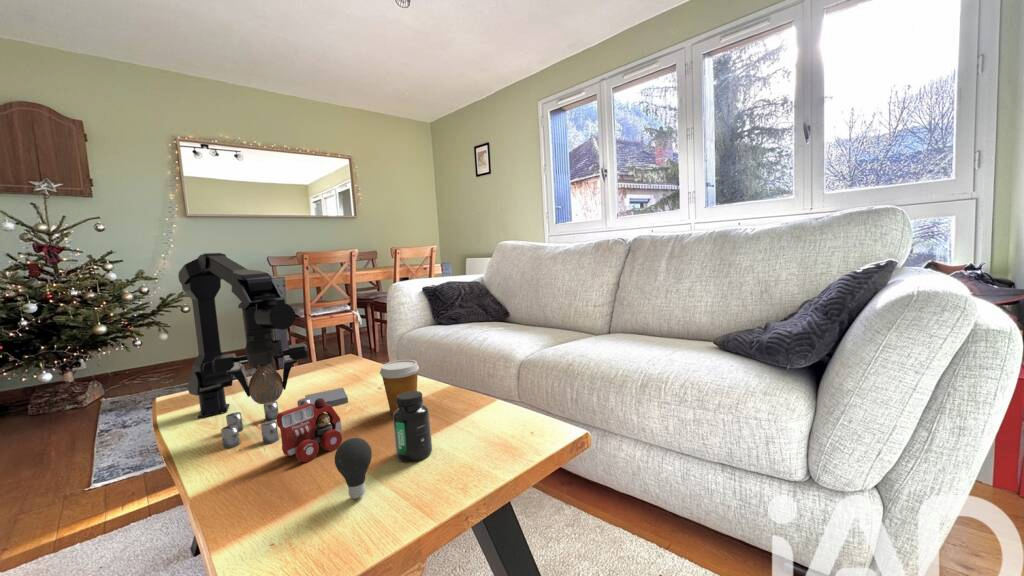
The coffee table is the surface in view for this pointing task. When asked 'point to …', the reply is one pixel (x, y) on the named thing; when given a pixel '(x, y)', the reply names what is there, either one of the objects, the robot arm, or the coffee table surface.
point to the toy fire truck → (309, 430)
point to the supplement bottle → (412, 428)
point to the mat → (330, 397)
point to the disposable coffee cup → (399, 379)
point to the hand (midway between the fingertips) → (267, 392)
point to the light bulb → (354, 464)
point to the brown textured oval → (265, 385)
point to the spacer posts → (267, 428)
